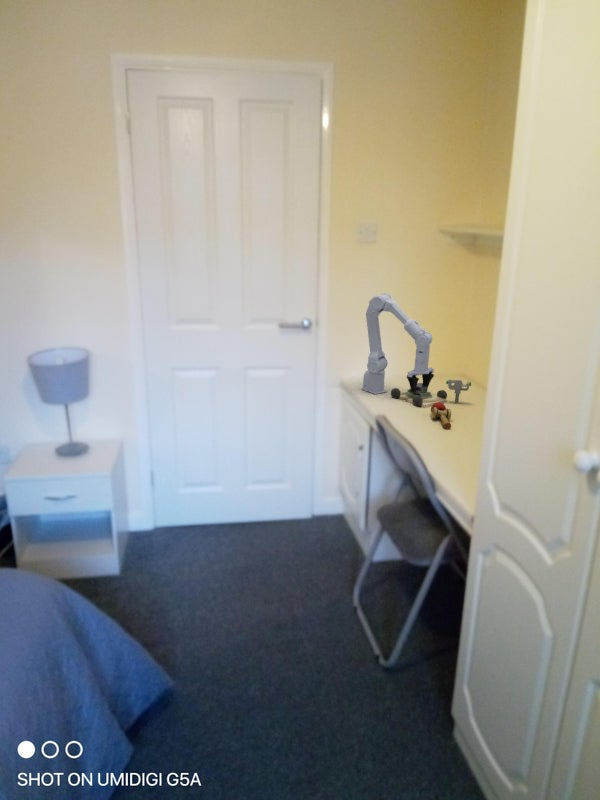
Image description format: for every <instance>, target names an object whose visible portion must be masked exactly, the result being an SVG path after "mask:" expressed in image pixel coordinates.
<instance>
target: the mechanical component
mask: <svg viewBox="0 0 600 800" xmlns="http://www.w3.org/2000/svg"><path fill="white" fill-rule="evenodd" d="M445 382H446V383H445V385H447V387H448V389H449V390H451V391H453V390H454V394H455V397H454V404H456V403H458V404H459V401H460V395H461V391H463V392H464V391H465V392H467V391H468V390H469V388H470V387H471V386H472V382H471V381H467V383H466V384H464V383H463V381H462V380H459V379H448V380H446V381H445ZM463 387H464V388H463ZM465 387H466V388H465Z"/></svg>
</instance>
